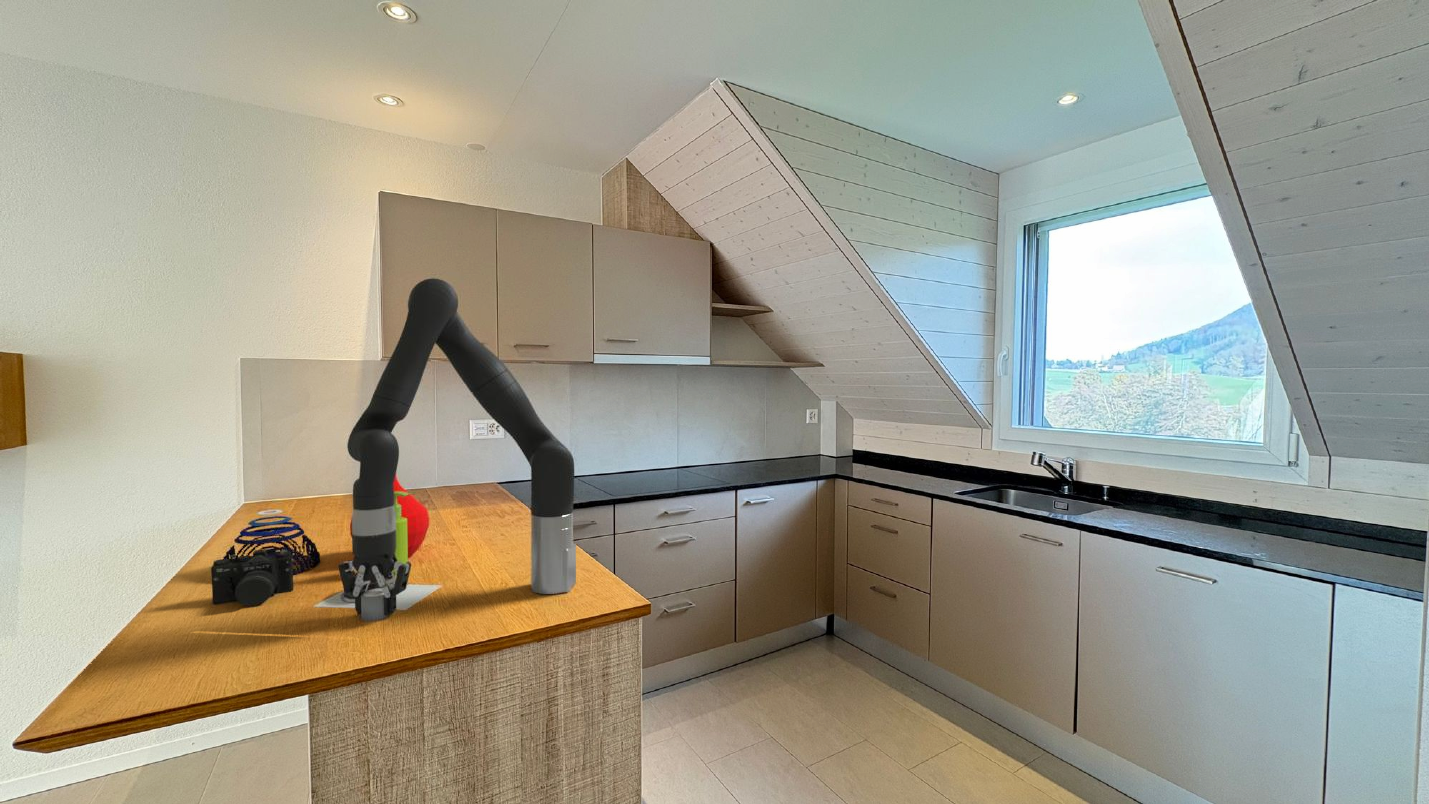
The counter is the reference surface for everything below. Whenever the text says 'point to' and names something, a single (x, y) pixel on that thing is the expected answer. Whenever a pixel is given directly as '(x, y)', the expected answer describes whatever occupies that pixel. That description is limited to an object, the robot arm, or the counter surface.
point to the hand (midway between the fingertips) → (375, 613)
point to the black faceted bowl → (351, 598)
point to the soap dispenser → (400, 531)
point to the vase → (411, 519)
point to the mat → (402, 599)
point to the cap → (372, 605)
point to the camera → (251, 577)
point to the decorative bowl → (278, 541)
